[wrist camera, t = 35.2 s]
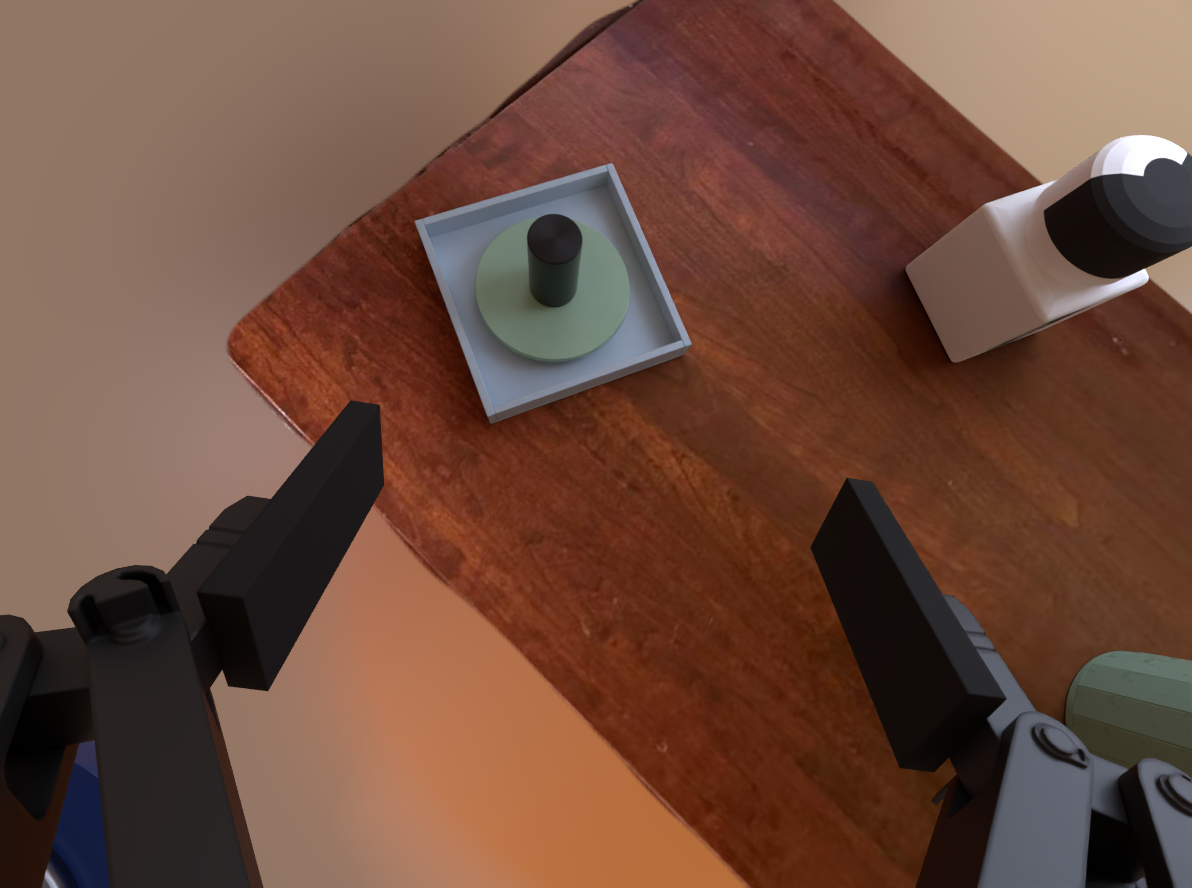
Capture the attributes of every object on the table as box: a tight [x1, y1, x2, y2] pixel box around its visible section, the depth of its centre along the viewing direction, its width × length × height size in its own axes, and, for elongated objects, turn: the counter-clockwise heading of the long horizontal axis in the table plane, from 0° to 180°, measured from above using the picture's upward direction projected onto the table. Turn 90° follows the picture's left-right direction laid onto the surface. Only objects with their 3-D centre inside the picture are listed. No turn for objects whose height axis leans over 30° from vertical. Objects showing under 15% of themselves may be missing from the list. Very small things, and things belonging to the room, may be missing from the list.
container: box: [906, 135, 1192, 362], centre depth 34 cm, size 8×8×13 cm
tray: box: [415, 163, 691, 424], centre depth 36 cm, size 14×14×2 cm
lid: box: [475, 214, 630, 362], centre depth 33 cm, size 10×10×7 cm
